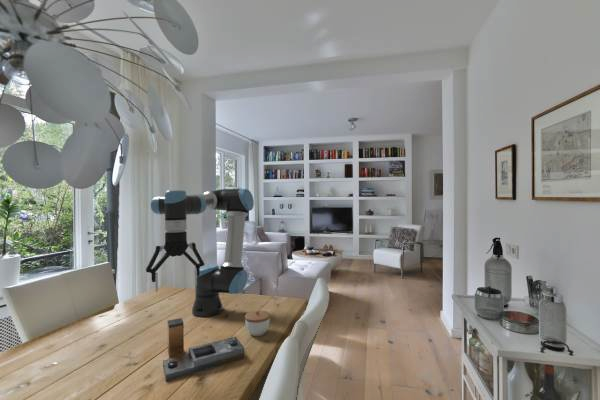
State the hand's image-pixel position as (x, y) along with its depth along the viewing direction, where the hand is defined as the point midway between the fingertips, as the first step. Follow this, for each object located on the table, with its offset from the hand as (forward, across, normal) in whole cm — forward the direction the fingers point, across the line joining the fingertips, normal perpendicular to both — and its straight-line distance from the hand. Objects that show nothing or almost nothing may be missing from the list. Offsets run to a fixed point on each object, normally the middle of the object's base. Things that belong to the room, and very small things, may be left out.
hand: (176, 287), depth 111 cm
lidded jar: (+25, +33, 0) cm, 41 cm away
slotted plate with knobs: (+25, +7, -12) cm, 28 cm away
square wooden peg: (+25, 0, 0) cm, 25 cm away
